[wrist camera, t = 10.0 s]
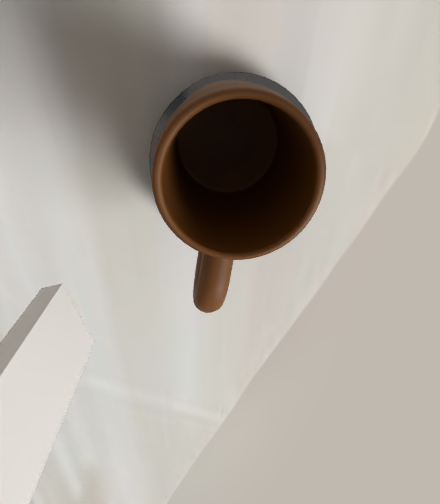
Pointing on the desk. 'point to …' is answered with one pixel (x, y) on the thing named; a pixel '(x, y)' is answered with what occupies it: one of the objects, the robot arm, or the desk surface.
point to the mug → (236, 178)
